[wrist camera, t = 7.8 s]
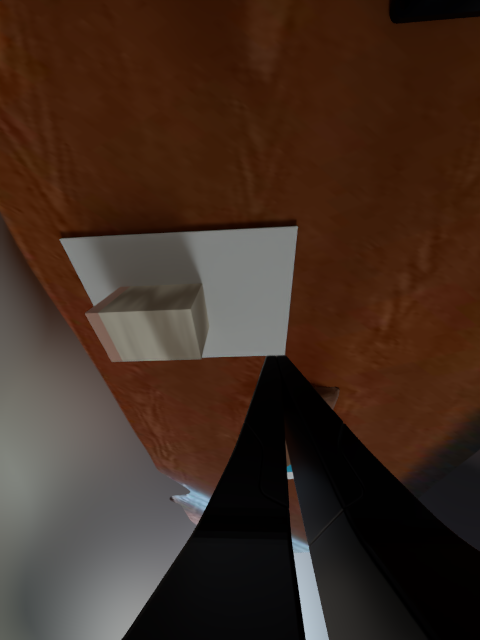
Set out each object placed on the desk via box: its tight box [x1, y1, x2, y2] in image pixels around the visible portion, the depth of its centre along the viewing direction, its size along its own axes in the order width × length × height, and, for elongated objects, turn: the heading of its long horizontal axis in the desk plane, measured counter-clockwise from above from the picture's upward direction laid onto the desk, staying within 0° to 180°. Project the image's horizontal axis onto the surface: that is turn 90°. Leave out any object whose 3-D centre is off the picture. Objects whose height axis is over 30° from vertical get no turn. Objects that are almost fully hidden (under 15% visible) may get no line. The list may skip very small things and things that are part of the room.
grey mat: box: [60, 226, 298, 357], centre depth 20 cm, size 20×14×1 cm
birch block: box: [85, 283, 209, 362], centre depth 18 cm, size 5×5×8 cm
